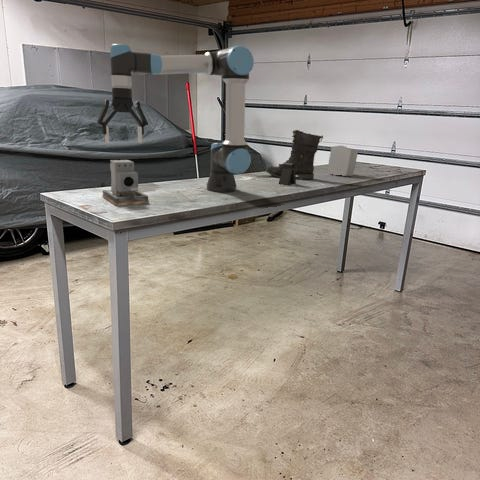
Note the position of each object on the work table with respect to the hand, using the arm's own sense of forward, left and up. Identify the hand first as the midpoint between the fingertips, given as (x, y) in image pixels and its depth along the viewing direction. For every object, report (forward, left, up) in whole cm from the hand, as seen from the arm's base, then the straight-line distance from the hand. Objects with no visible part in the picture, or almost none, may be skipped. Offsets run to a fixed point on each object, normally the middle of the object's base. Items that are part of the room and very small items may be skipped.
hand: (124, 143), depth 168 cm
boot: (-115, -27, -24) cm, 120 cm away
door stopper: (-96, -9, -24) cm, 100 cm away
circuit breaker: (0, 0, -23) cm, 23 cm away
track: (+1, 0, -24) cm, 24 cm away
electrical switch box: (-158, -25, -24) cm, 162 cm away
